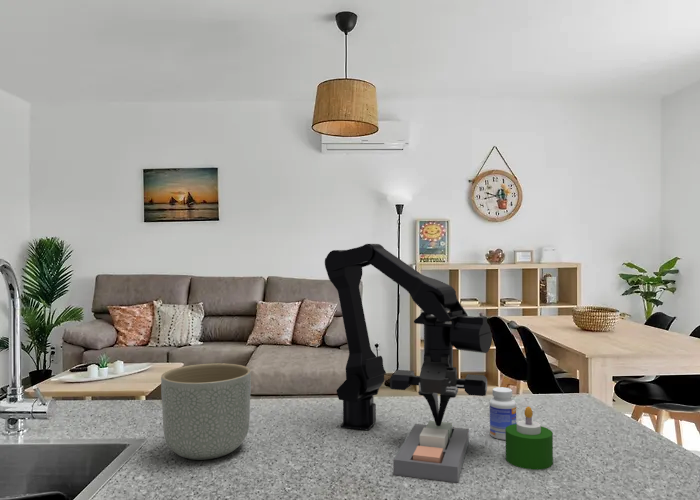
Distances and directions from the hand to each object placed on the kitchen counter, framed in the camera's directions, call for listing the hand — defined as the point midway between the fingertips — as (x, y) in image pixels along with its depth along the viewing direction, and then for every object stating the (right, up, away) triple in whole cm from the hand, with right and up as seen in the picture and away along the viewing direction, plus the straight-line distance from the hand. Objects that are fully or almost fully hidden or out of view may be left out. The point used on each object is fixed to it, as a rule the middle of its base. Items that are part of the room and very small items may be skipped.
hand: (438, 425), depth 107 cm
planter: (-46, -5, -2) cm, 46 cm away
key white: (-2, -2, -6) cm, 7 cm away
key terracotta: (-4, -3, -12) cm, 13 cm away
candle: (+15, -4, -8) cm, 18 cm away
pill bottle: (+14, -4, +5) cm, 16 cm away
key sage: (0, -2, 0) cm, 2 cm away
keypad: (-2, -4, -6) cm, 8 cm away
